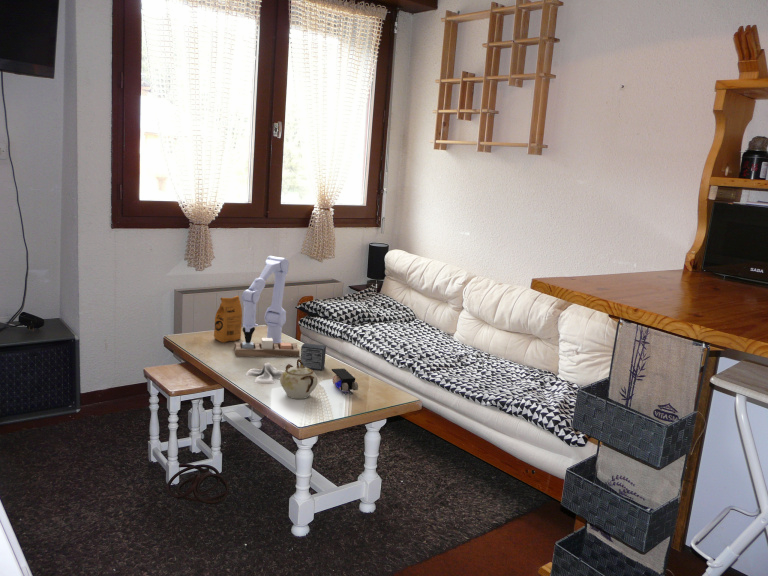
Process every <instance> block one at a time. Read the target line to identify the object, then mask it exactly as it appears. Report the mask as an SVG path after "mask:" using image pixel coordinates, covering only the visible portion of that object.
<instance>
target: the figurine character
mask: <svg viewBox="0 0 768 576" xmlns="http://www.w3.org/2000/svg"><path fill="white" fill-rule="evenodd" d="M331 372H333V373H334V374H335V375H334V376H333V378H332V383H333V385H334V386H336V388H338V389H339V390H340V391H342V393H343V394H344V395H345V396H347V394H346V393H349V394H350V393H351V394H350V395H353V392H352V391H358V389H359V384H358V382H357V381H356V377H355V376H353V375H352V374H351V373H350V372H349V371H348V370H347V369H345V368H331Z"/></svg>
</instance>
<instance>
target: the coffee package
mask: <svg viewBox="0 0 768 576" xmlns="http://www.w3.org/2000/svg"><path fill="white" fill-rule="evenodd" d="M220 301H221V302H220V305H219V307H218V309H217V311H216V314H215V317H214V329H213V330H214V332H213V338H214V339H215V340H217V341H218V342H220V343H227V342H237V341H240V340H241V338H242V327H243V318H242V317H243V309H242V305H241V300H240V296H239V295H235V296H233V297H220Z"/></svg>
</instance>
